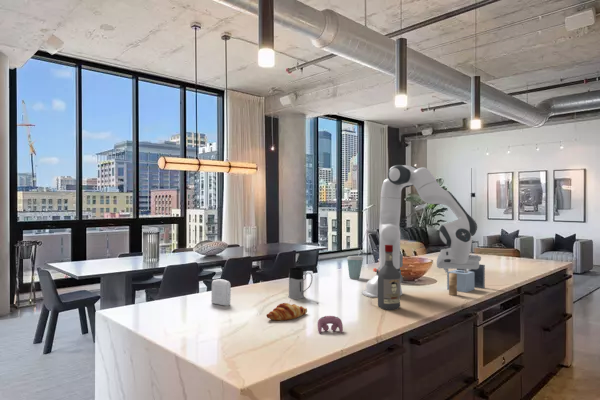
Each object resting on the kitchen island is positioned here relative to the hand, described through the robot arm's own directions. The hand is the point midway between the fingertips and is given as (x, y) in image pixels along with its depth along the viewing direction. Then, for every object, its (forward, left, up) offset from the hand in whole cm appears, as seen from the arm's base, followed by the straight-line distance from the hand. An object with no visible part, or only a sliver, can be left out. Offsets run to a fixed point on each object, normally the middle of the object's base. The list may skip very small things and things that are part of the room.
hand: (456, 271), depth 222 cm
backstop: (+21, +22, -15) cm, 34 cm away
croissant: (-91, -8, -15) cm, 93 cm away
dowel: (+5, +9, -15) cm, 18 cm away
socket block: (+18, +20, -14) cm, 30 cm away
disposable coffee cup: (-25, +72, -15) cm, 78 cm away
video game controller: (-80, -32, -15) cm, 88 cm away
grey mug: (-75, +28, -15) cm, 82 cm away
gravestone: (-117, +25, -15) cm, 121 cm away
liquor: (-40, -4, -15) cm, 43 cm away
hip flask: (-5, +59, -15) cm, 61 cm away
